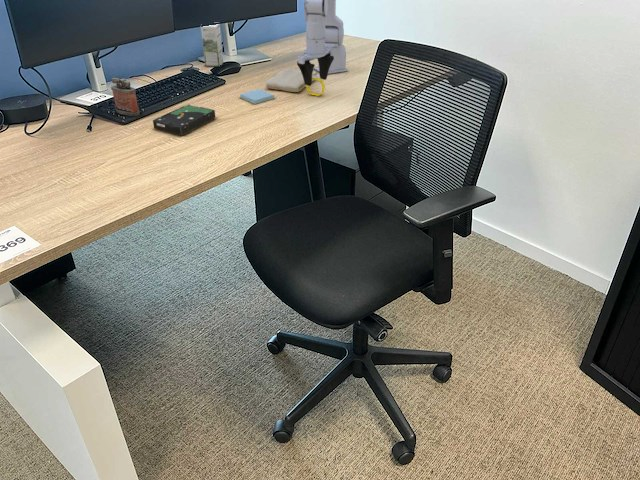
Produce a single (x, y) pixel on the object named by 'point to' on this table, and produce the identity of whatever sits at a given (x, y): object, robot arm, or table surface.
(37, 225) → the table surface
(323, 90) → the yellow ring
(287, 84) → the washcloth
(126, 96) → the lighter
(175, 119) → the disk drive
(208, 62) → the syrup box
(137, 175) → the table surface
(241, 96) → the sticky note pad
